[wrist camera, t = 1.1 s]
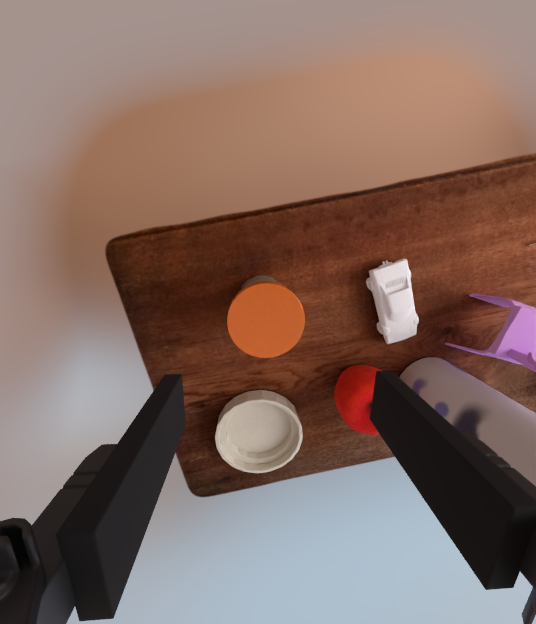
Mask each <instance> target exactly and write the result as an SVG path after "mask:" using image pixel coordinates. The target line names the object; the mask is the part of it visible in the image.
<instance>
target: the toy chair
mask: <svg viewBox="0 0 536 624" xmlns="http://www.w3.org/2000/svg"><path fill="white" fill-rule="evenodd" d="M469 296H471V297H474V298H477V299H480V300H483V301H486V302H489V303H492V304H495V305H498V306H501V307H511V310H510V312H509V314H508V317H507V319H506V321H505V324H504V326H503V328H502V330H501V331H500V333H499V334H498V336H497V337H496V339H495V340H494V342H493V343H492V345H491V346H490V347H489V348H488V349H487V350H485V351H480V350H475V349H471V348H467V347H463V346H459V345H455V344H451V343H447V342H446V343H445V345H449V346H452V347H456V348H459V349H462V350H466V351H469V352H473V353H476V354H480V355H486V356H491V357H495V358H498V359H502V360H505V361H509V362H513V363H516V364H522V365H524V366H526V367H527V368H529V369H531V370H533V371H534V372H536V308H535V307H532V306H529V305H526V304H523V303H520V302H517V301H514V300H511V299H508V298H504V297H500V296H493V295H482V294H470V295H469Z"/></svg>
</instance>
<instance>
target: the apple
mask: <svg viewBox="0 0 536 624" xmlns="http://www.w3.org/2000/svg"><path fill="white" fill-rule="evenodd" d="M376 371H382V370H380V369H378V368H376V367H372V366H367V365H355V366H351V367H348V368H347V369H346V370H344V371H343V372H342V373H341V375H340V376H339V378H338V381H337V384H336V386H335V391H334V399H335V403H336V406H337V409H338V411H339V413H340V415H341V417H342V418H343V420H344V421H345V423H346V424H347V425H348V426H349V427H350V428H351V429H353V430H354V431H357V432H360V433H366V434H371V435H375V434H379V432H378V431H377V429H376V428H375V426H374V425H373V423H372V422H371V420H370V412H371V405H372V398H373V391H374V383H375V376H376Z"/></svg>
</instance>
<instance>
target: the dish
mask: <svg viewBox="0 0 536 624" xmlns="http://www.w3.org/2000/svg"><path fill="white" fill-rule="evenodd" d="M302 439H303V436H302V426H301V422H300V418H299V415H298V413H297V411H296V409H295V407H294V405H293V404H292V403H291V402H290V401H289V400H288V399H287V398H285V397H283V396H281V395H279V394H277V393H275V392H271V391H265V390H256V391H248V392H245V393H243V394H240V395H238V396H236V397H234V398H233V399H232V400H231V401H230V402H228V403H227V404H226V405H225V407H224V408H223V410H222V411H221V413H220V415H219V419H218V424H217V429H216V434H215V441H216V447H217V450H218V452H219V453H220V455H221V457H222V458H223V459H224V460H225V461H226V462H227V463H228V464H230V465H231V466H232V467H234V468H237V469H239V470H241V471H244V472H252V473H262V472H270V471H273V470H275V469H278V468H280V467H282V466H284V465H285V464H286V463H288V462H289V461H290V460H292V459H293V457H294V456H295V454H296V453H297V452H298V450H299V448H300V445H301V442H302Z"/></svg>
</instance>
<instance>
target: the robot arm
mask: <svg viewBox="0 0 536 624" xmlns="http://www.w3.org/2000/svg"><path fill="white" fill-rule="evenodd" d="M370 420H371V422H372V423H373V425H374V426H375V428H376V429H377V431H378V432H379V434H380V435H381V437H382V438H383V440H384V441H385V442H386V444H387V445H388V447H389V448H390V450H391V451H392V453H393V454H394V456H395V457H396V459H397V460H398V461H399V463H400V464H401V466H402V467H403V469H404V470H405V472H406V473H407V475H408V476H409V477H410V479H411V481H412V482H413V483H414V485H415V486H416V488H417V489H418V491H419V492H420V494H421V495H422V497H423V498H424V500H425V501H426V503H427V504H428V506H429V507H430V508H431V510H432V511H433V513H434V514H435V516H436V517H437V519H438V520H439V522H440V523H441V525H442V526H443V528H444V529H445V530H446V532H447V533H448V535H449V536H450V538H451V539H452V541H453V542H454V544H455V545H456V547H457V548H458V549H459V551H460V553H461V554H462V555H463V557H464V558H465V560H466V561H467V563H468V564H469V566H470V567H471V569H472V570H473V572H474V573H475V574H476V576H477V577H478V579H479V580H480V582H481V583H482V585H483V586H484V588H485V589H486V590H489V589H501V588H513V587H514V584H515V582H516V579H517V577H518V574H519V572H520V571H521V573H522V574H523V575H524V576H525V578H526V579H527V580H528V581H529V582H530V584H531V585H532V586H533V589H532V591H531V594H530V596H529V598H528V601H527V603H526V605H525V608H524V610H523V612H522V617H523V622H524V624H532V622H533V620H534V617H535V615H536V486H535V485H534V484H532V483H531V482H530V481H529V480H528V479H526V478H525V477H524V476H523V475H522V474H521V473H519V472H518V471H517V470H516V469H515V468H511V466H510V464H509V463H507V462H506V461H505V460H504V459H503V458H502V457H499V456H498V454H497V453H496V452H494V451H493V450H492V449H491V448H490V447H489V446H487V445H486V444H485V443H484V442H483V441H481V440H479V439H477V438H476V437H474V436H472V435H471V434H469V433H467V432H465V431H460V432H459V431H458V430H457V429H456V428H455V427H454V426H453V425H452V424H450V423H449V422H448V421H447V420H446V419H445V418H444V417H443V416H442V415H440V414H439V413H438V412H437V411H436V410H435V409H434V408H433V407H431V406H430V405H429V404H428V403H427V402H426V401H425V400H424V399H422V398H421V397H420V396H419V395H418V394H417V393H416V392H415V391H413V390H412V389H411V388H410V387H409V386H408V385H407V384H406V383H404V382H403V381H402V380H401V379H400V378H399V377H398V376H397V375H396V374H394V373H393V372H392V371H376V376H375V383H374V391H373V398H372V405H371V412H370ZM185 425H186V422H185V409H184V397H183V385H182V374H171V375H164V377H163V378H162V380H161V381H160V382H159V384H158V385H157V387H156V388H155V390H154V391H153V393H152V394H151V396H150V397H149V399H148V400H147V401H146V403H145V404H144V406H143V407H142V409H141V410H140V412H139V413H138V415H137V416H136V418H135V419H134V421H133V422H132V423H131V425H130V426H129V428H128V429H127V431H126V433H125V434H124V435H123V437H122V438H121V440H120V441H119V442H118V444H106V445H101V446H100V447H98V448H97V449H96V450H95V451H93V452H92V453H91V454H89V455H88V456H87V457H86V458H85V459H84V460H83V462H82V463H81V464H80V465H79V467H78V468H77V469H76V470H75V472H74V474H73V476H71V477H70V478H69V479H68V481H67V482H66V483H65V485H64V486H63V489H60V491H59V492H58V493H57V494H56V496H55V497H54V498H53V499H52V501H51V502H50V503H49V505H48V506H47V507H46V508H45V510H44V511H43V512H42V513H41V515H40V516H39V517H38V519H37V520H36V521H35V522H34V524H33V525H32V526H31V524H30V523H29V522H28V521H27V520H25V519H21V518H11V519H7V520H4V521H0V624H66V623H67V621H68V619H69V617H70V615H71V613H72V611H73V608H74V607H76V610H77V614H78V617H79V621H87V620H100V619H112V618H114V615H115V612H116V610H117V607H118V604H119V601H120V599H121V596H122V594H123V591H124V588H125V586H126V583H127V580H128V578H129V575H130V572H131V570H132V567H133V564H134V562H135V559H136V556H137V553H138V551H139V548H140V546H141V543H142V540H143V538H144V535H145V532H146V529H147V527H148V524H149V521H150V519H151V516H152V513H153V511H154V508H155V505H156V503H157V500H158V497H159V494H160V492H161V489H162V487H163V484H164V481H165V479H166V476H167V473H168V471H169V468H170V465H171V463H172V460H173V457H174V455H175V452H176V449H177V447H178V444H179V441H180V439H181V436H182V433H183V430H184V428H185Z"/></svg>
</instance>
